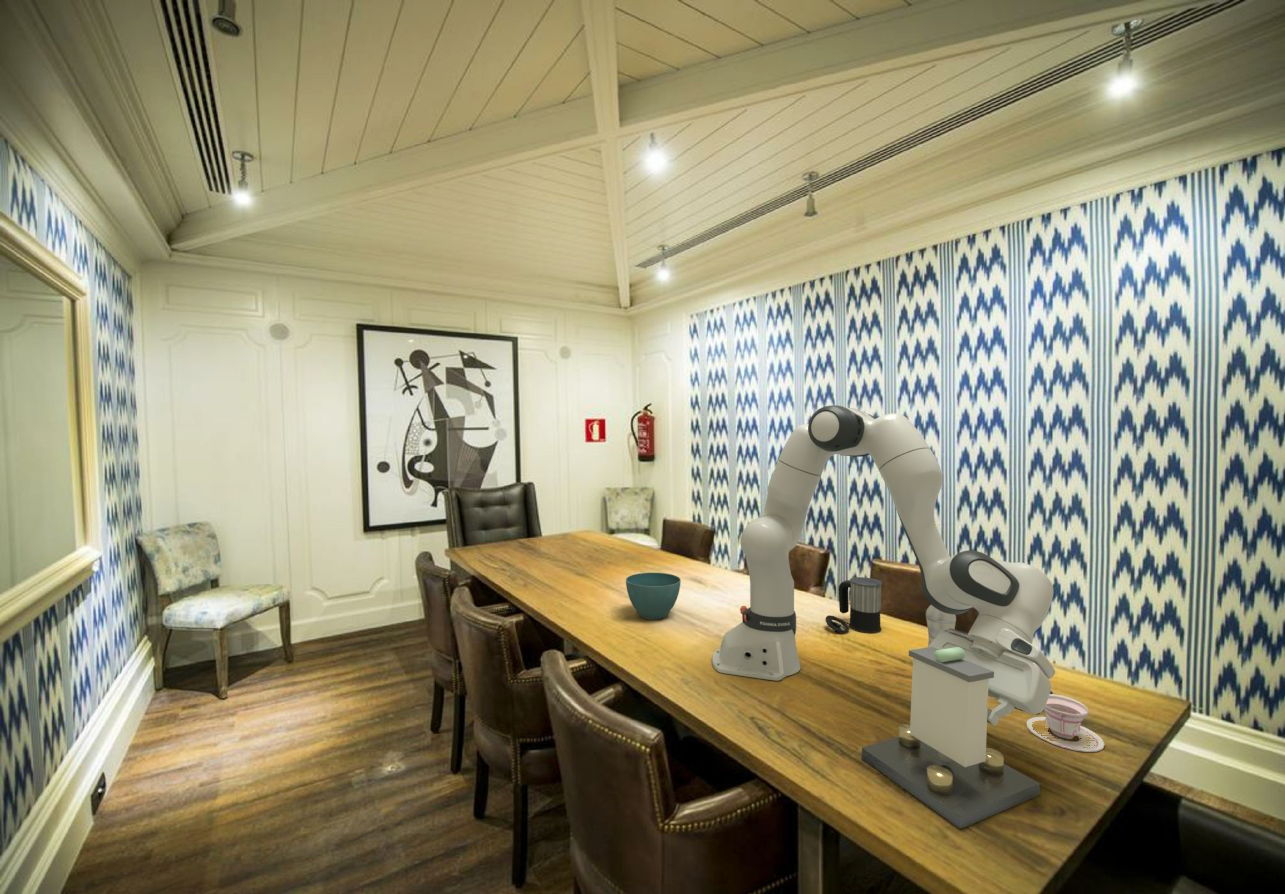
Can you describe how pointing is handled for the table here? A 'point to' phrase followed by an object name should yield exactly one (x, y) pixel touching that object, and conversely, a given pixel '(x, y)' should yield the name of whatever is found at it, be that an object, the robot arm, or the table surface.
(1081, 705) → the teacup
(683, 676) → the table surface
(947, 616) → the plastic bottle
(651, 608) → the plant pot
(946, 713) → the instrument head
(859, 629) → the milk frother
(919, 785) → the base
